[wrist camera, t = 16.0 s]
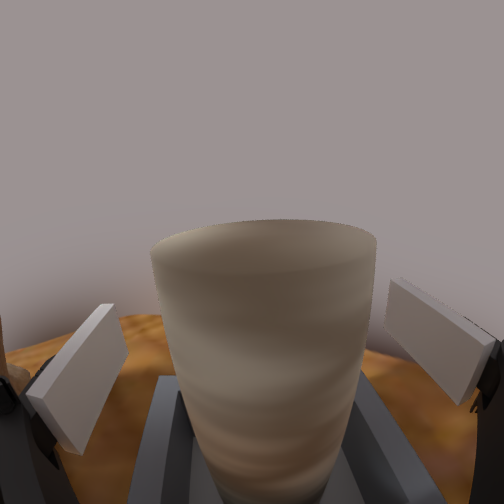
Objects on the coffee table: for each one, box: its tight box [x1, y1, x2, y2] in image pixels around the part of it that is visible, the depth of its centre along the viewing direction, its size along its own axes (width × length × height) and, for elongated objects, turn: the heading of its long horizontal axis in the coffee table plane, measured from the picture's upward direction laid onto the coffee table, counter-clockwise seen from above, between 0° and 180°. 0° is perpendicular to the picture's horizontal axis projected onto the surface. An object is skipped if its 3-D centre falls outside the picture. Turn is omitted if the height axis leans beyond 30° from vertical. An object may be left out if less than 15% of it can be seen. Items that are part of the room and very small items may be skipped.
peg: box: [150, 220, 377, 504], centre depth 9 cm, size 6×6×15 cm
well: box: [127, 370, 447, 504], centre depth 11 cm, size 16×16×6 cm
